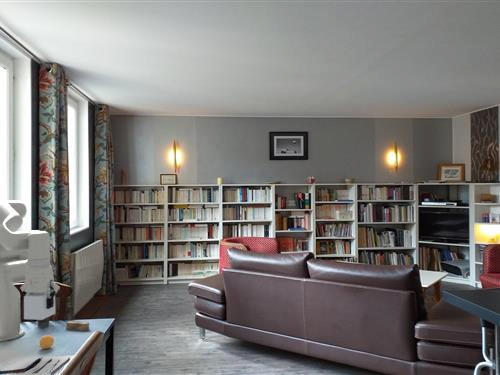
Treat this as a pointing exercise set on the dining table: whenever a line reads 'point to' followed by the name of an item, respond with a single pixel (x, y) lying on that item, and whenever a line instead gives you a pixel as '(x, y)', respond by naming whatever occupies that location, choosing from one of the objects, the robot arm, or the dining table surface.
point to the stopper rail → (77, 325)
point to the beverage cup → (43, 322)
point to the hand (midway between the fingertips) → (40, 307)
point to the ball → (46, 341)
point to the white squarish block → (37, 306)
